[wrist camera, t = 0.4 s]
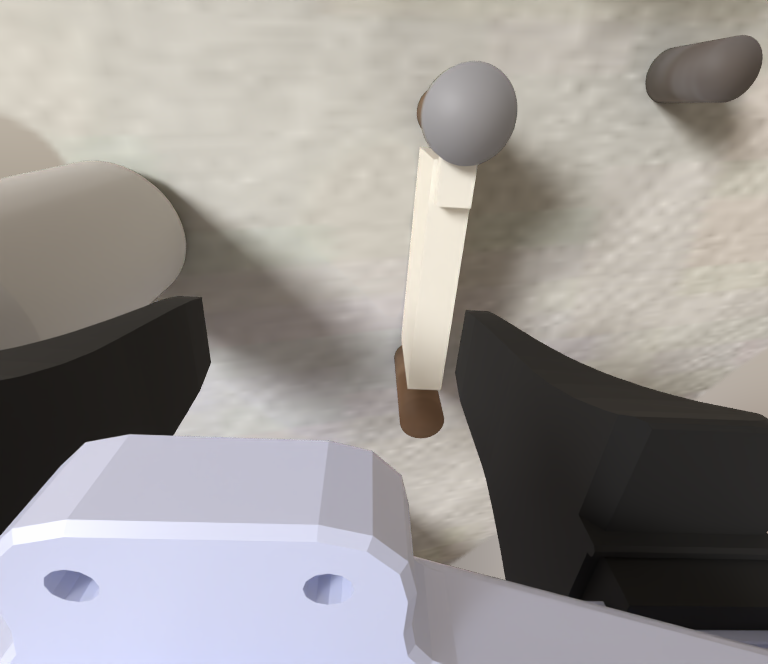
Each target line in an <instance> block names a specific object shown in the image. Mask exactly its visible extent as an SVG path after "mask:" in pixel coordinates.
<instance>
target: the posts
mask: <svg viewBox="0 0 768 664" xmlns="http://www.w3.org/2000/svg"><path fill="white" fill-rule="evenodd" d="M761 65H762V50H761V47H760V44H759V43H758V41H757V40H755V39H754V38H753V37H750V36H746V35H740V36H734V37H728V38H723V39H718V40H712V41H707V42H701V43H696V44H690V45H685V46H679V47H674V48H670V49H668V50H666V51H664V52H662V53H661V54H660V55H659V56H658V57H657V58H656V59H655V60H654V61H653V63H652V64H651V66H650V68H649V70H648V73H647V76H646V90H647V93H648V95H649V96H650V97H651V98H652V99H653V100H655V101H657V102H728V101H731V100H734V99H736V98H738V97H739V96H741V95H742V94H743V93H744V92H746V91H747V90H748V89H749V88H750V86H751V85H752V84H753V82H754V81H755V79H756V78H757V76H758V74H759V71H760V68H761ZM427 91H428V90H427ZM427 91H426V92H425V93H424V94H423V96H422V97H421V99H420V101H419V103H418V107H417V119H418V123H419V125H420V127H421V109H422V104H423V100H424V97H425V95H426V93H427ZM421 128H422V127H421ZM394 360H395V371H396V383H397V394H398V405H399V417H400V425H401V428H402V430H403V431H404V432H405V433H406V434H407V435H409V436H411V437H415V438H427V437H430V436H432V435H434V434H436V433H437V432H438V431H440V429H441V428H442V426H443V424H444V416H443V412H442V407H441V403H440V398H439V394H438V390H422V389H408V388H407V380H406V372H405V364H404V356H403V348H402V346H400V347H399V348H398V349H397V351H396V353H395V356H394Z"/></svg>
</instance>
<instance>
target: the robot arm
mask: <svg viewBox="0 0 768 664" xmlns="http://www.w3.org/2000/svg"><path fill="white" fill-rule="evenodd" d="M210 364H211V360H210V353H209V346H208V339H207V332H206V325H205V318H204V311H203V304H202V297H184V296H177V297H172V298H168V299H164V300H161V301H158V302H155V303H152V304H150V305H147V306H144V307H141V308H139V309H136V310H133V311H131V312H128V313H125V314H123V315H120V316H117V317H115V318H112V319H109V320H106V321H103V322H100V323H97V324H94V325H91V326H88V327H85V328H83V329H80V330H77V331H74V332H70V333H67V334H64V335H60V336H57V337H54V338H50V339H46V340H42V341H38V342H35V343H31V344H27V345H23V346H18V347H14V348H9V349H4V350H0V664H768V534H767V533H766V532H767V531H768V419H767V418H766V417H764V416H763V415H760V414H757V413H752V412H747V411H742V410H737V409H733V408H727V407H722V406H718V405H713V404H708V403H703V402H698V401H694V400H690V399H686V398H682V397H678V396H674V395H671V394H667V393H663V392H660V391H656V390H653V389H649V388H646V387H643V386H640V385H637V384H634V383H631V382H628V381H625V380H622V379H619V378H616V377H614V376H611V375H608V374H606V373H603V372H601V371H598V370H596V369H594V368H591V367H589V366H587V365H584V364H582V363H580V362H578V361H575V360H573V359H571V358H569V357H567V356H565V355H563V354H561V353H560V352H558V351H556V350H554V349H552V348H550V347H548V346H547V345H545V344H543V343H541V342H540V341H538V340H536V339H534V338H533V337H531V336H530V335H528V334H526V333H525V332H523V331H521V330H520V329H518V328H517V327H515V326H513V325H512V324H510V323H508V322H507V321H505V320H504V319H502V318H500V317H498V316H497V315H495V314H493V313H490V312H488V311H470V310H466V312H465V318H464V324H463V330H462V336H461V342H460V348H459V353H458V359H457V365H456V371H455V374H456V380H457V386H458V392H459V397H460V402H461V405H462V408H463V411H464V414H465V417H466V420H467V423H468V426H469V429H470V432H471V435H472V437H473V440H474V443H475V446H476V449H477V452H478V455H479V458H480V461H481V464H482V467H483V470H484V474H485V477H486V481H487V486H488V490H489V495H490V500H491V504H492V509H493V513H494V519H495V524H496V529H497V534H498V539H499V544H500V550H501V555H502V561H503V567H504V573H505V579H506V580H503V579H499V578H495V577H491V576H487V575H483V574H479V573H476V572H472V571H468V570H465V569H461V568H457V567H453V566H449V565H446V564H442V563H438V562H434V561H430V560H427V559H423V558H419V557H415V556H414V555H413V545H412V534H411V524H410V513H409V504H408V500H407V496H406V492H405V488H404V484H403V480H402V475H401V474H400V473H398V472H397V471H396V470H395V469H393V468H392V467H391V466H390V465H389V464H387V463H386V462H385V461H384V460H383V459H381V458H380V457H379V456H378V455H377V454H375V453H374V452H373V451H370V450H366V449H362V448H358V447H353V446H349V445H345V444H341V443H337V442H332V441H323V440H291V439H260V438H228V437H197V436H173V435H174V433H175V432H176V430H177V428H178V427H179V425H180V423H181V422H182V420H183V418H184V417H185V415H186V414H187V412H188V410H189V408H190V407H191V405H192V403H193V402H194V400H195V398H196V397H197V395H198V393H199V391H200V389H201V387H202V384H203V382H204V379H205V377H206V374H207V372H208V369H209V366H210Z"/></svg>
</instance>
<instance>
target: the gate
mask: <svg viewBox="0 0 768 664" xmlns="http://www.w3.org/2000/svg"><path fill="white" fill-rule="evenodd" d="M516 118H517V99H516V95H515V91H514V89H513V86H512V84H511V82H510V81H509V79H508V78H507V76H506V75H505V74H504V73H503V72H502V71H501V70H499V69H498V68H497V67H495V66H493V65H491V64H489V63H486V62H481V61H469V62H464V63H461V64H458V65H456V66H453V67H451V68H449V69H447V70H446V71H444V72H443V73H442V74H440V75H439V76H438V77H437V78H436V79H435V80H434V81H433V83H432V84H431V86H430V87H429V89H428V91H427V93H426V95H425V97H424V100H423V104H422V109H421V127H422V132H423V135H424V137H425V140H426V142H427V143H428V145H429V146H430V147H420V152H419V162H418V172H417V182H416V193H415V203H414V213H413V223H412V233H411V244H410V254H409V264H408V274H407V284H406V295H405V305H404V315H403V325H402V335H401V340H402V348H403V356H404V364H405V372H406V380H407V388H408V389H422V390H441V386H442V380H443V373H444V367H445V361H446V354H447V348H448V342H449V336H450V329H451V323H452V317H453V310H454V304H455V298H456V291H457V285H458V279H459V272H460V266H461V260H462V253H463V247H464V241H465V234H466V228H467V222H468V215H469V209H471V204H472V198H473V191H474V185H475V179H476V172H477V166H478V164H481V163H483V162H486V161H488V160H489V159H491V158H492V157H494V156H495V155H496V154H497V153H498V152H499V151H501V149H502V148H503V147H504V146H505V145H506V143H507V142H508V140H509V138H510V136H511V134H512V132H513V129H514V127H515V123H516Z"/></svg>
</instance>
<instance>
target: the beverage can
mask: <svg viewBox="0 0 768 664" xmlns="http://www.w3.org/2000/svg"><path fill="white" fill-rule="evenodd" d="M185 255H186V239H185V233H184V230H183V226H182V223H181V221H180V219H179V216H178V214H177V212H176V211H175V209H174V208H173V206H172V204H171V203H170V202H169V200H168V199H167V198H166V197H165V196H164V194H163V193H162V192H161V191H160V190H159V189H158V188H157V187H155V186H154V185H153V184H152V183H150V182H149V181H148V180H146V179H145V178H144V177H142V176H141V175H139V174H138V173H136V172H134V171H132V170H130V169H127V168H125V167H123V166H120V165H117V164H113V163H109V162H103V161H81V162H76V163H71V164H67V165H62V166H57V167H53V168H48V169H43V170H38V171H34V172H29V173H24V174H19V175H15V176H10V177H5V178H1V179H0V350H4V349H9V348H14V347H18V346H23V345H27V344H31V343H35V342H38V341H42V340H46V339H50V338H54V337H57V336H60V335H64V334H67V333H70V332H74V331H77V330H80V329H83V328H85V327H88V326H91V325H94V324H97V323H100V322H103V321H106V320H109V319H112V318H115V317H117V316H120V315H123V314H125V313H128V312H131V311H133V310H136V309H139V308H141V307H144V306H147V305H149V304H150V303H151V302H152V301H153V300H155V299H156V298H157V297H158V296H159V295H160V294H161V293H162V292H163V291H164V290H165V289H167V288H168V287H169V286H170V285H171V284H172V283H173V282H174V281H175V279H176V278H177V277H178V275H179V274H180V272H181V270H182V267H183V264H184V261H185Z"/></svg>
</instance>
